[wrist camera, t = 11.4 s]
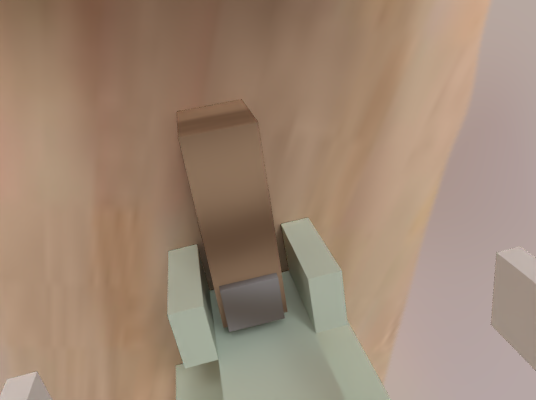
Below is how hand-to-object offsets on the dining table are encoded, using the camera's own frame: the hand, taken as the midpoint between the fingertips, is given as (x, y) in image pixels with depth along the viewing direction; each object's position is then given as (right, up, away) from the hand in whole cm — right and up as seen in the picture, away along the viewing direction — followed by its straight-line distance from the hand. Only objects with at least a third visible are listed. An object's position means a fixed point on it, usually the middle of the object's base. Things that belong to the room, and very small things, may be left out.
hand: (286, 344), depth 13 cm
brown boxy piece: (-3, +5, +17) cm, 18 cm away
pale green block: (-1, -4, +21) cm, 22 cm away
